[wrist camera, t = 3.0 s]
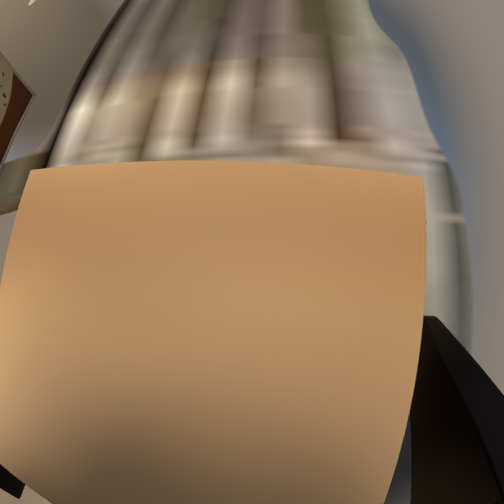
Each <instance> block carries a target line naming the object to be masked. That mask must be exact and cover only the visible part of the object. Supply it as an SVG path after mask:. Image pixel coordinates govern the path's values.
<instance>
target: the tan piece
mask: <svg viewBox="0 0 504 504" xmlns="http://www.w3.org/2000/svg"><path fill="white" fill-rule="evenodd" d="M425 283H426V211H425V192H424V179H423V178H422V177H415V176H408V175H401V174H394V173H386V172H378V171H369V170H360V169H351V168H341V167H330V166H318V165H304V164H289V163H271V162H246V161H146V162H122V163H104V164H90V165H77V166H66V167H56V168H46V169H37V170H31V171H30V174H29V177H28V180H27V182H26V185H25V188H24V191H23V195H22V198H21V201H20V204H19V207H18V211H17V214H16V218H15V221H14V225H13V229H12V233H11V237H10V241H9V245H8V250H7V254H6V259H5V264H4V269H3V274H2V280H1V286H0V464H1V465H2V466H3V467H5V468H6V469H7V470H8V471H9V472H11V473H12V474H13V475H14V476H15V477H17V478H18V479H19V480H21V481H22V482H23V483H24V484H26V485H27V486H28V487H30V488H31V489H32V490H34V491H35V492H37V493H38V494H39V495H41V496H42V497H44V498H45V499H47V500H48V501H50V502H51V503H53V504H384V502H385V499H386V496H387V493H388V490H389V487H390V484H391V481H392V477H393V474H394V471H395V468H396V464H397V461H398V457H399V453H400V450H401V446H402V442H403V438H404V434H405V430H406V425H407V421H408V416H409V412H410V407H411V402H412V397H413V391H414V386H415V380H416V373H417V367H418V360H419V353H420V344H421V336H422V326H423V315H424V301H425Z"/></svg>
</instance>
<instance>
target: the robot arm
mask: <svg viewBox="0 0 504 504" xmlns="http://www.w3.org/2000/svg"><path fill="white" fill-rule="evenodd" d="M410 422H411V450H412V479H411V504H504V395H503V394H502V393H501V391H500V390H499V389H498V388H497V386H496V385H495V384H494V383H493V381H492V380H491V379H490V378H489V376H488V375H487V374H486V373H485V372H484V370H483V369H482V368H481V367H480V365H479V364H478V363H477V362H476V361H475V360H474V358H473V357H472V356H471V355H470V354H469V353H468V351H467V350H466V349H465V348H464V347H463V346H462V344H461V343H460V342H459V341H458V340H457V339H456V338H455V337H454V335H453V334H452V333H451V332H450V331H449V330H448V329H447V328H446V327H445V325H444V324H443V323H442V322H441V321H440V320H439V319H438V318H437V317H435V316H425V315H423V326H422V336H421V344H420V353H419V360H418V367H417V373H416V380H415V386H414V391H413V397H412V402H411V407H410ZM24 486H25V484H24V483H23V482H22V481H21V480H19V479H18V478H17V477H15V476H14V475H13V474H12V473H11V472H9V471H8V470H7V469H6V468H5V467H3V466H2V465H1V464H0V488H1V489H3V490H4V491H6V492H8V493H9V494H11V495H13V496H14V497H16V498H18V499H20V497H21V495H22V492H23V489H24Z"/></svg>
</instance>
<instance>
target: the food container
mask: <svg viewBox="0 0 504 504" xmlns="http://www.w3.org/2000/svg"><path fill="white" fill-rule="evenodd" d="M35 96H36V94H35V93H34V92H33V91H32V90H31V88H30V87H29V86H28V85H27V84H26V82H25V81H24V80H23V79H22V78H21V77H20V75H19V74H18V73H17V72H16V70H15V69H14V68H13V67H12V66H11V64H10V63H9V62H8V61H7V59H6V58H5V57H4V56H3V55H2V54H1V52H0V172H1V169H2V166H3V164H4V161H5V159H6V156H7V154H8V152H9V149H10V147H11V144H12V142H13V140H14V138H15V136H16V133H17V131H18V129H19V127H20V125H21V123H22V121H23V119H24V116H25V114H26V113H27V111H28V109H29V107H30V105H31V103H32V101H33V99H34V98H35Z"/></svg>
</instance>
